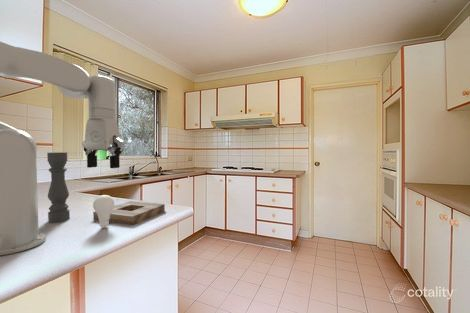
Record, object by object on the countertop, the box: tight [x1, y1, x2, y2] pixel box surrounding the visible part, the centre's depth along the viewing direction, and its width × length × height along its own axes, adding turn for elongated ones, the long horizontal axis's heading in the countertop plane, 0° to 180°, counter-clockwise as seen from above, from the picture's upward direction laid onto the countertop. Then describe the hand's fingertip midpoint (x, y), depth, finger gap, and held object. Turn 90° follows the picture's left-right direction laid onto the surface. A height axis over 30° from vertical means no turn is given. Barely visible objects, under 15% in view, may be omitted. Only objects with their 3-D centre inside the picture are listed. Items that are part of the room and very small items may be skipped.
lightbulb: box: [92, 194, 115, 229], centre depth 73 cm, size 6×6×11 cm
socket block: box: [92, 200, 165, 226], centre depth 87 cm, size 18×18×3 cm
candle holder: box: [46, 152, 71, 224], centre depth 81 cm, size 6×6×25 cm
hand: (103, 167), depth 73 cm, fingers open, 9 cm apart
